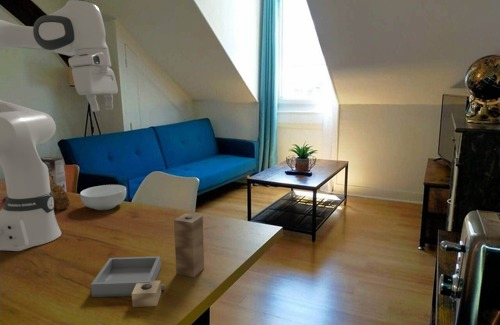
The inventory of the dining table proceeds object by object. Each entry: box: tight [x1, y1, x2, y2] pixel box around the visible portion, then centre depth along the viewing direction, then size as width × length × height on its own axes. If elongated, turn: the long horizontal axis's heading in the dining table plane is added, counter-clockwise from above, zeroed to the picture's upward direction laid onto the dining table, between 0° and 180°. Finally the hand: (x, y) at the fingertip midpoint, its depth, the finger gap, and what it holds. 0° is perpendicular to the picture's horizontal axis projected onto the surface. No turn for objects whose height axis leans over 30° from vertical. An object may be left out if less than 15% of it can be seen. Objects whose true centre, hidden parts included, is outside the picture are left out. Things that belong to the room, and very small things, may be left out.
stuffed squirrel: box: [49, 175, 72, 211], centre depth 136 cm, size 10×14×13 cm
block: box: [173, 213, 205, 278], centre depth 87 cm, size 5×5×14 cm
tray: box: [90, 255, 162, 298], centre depth 83 cm, size 13×13×3 cm
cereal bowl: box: [79, 184, 127, 211], centre depth 138 cm, size 17×17×7 cm
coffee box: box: [40, 156, 67, 193], centre depth 157 cm, size 9×6×16 cm
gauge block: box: [131, 279, 166, 308], centre depth 77 cm, size 6×7×3 cm
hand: (103, 110), depth 103 cm, fingers open, 8 cm apart
